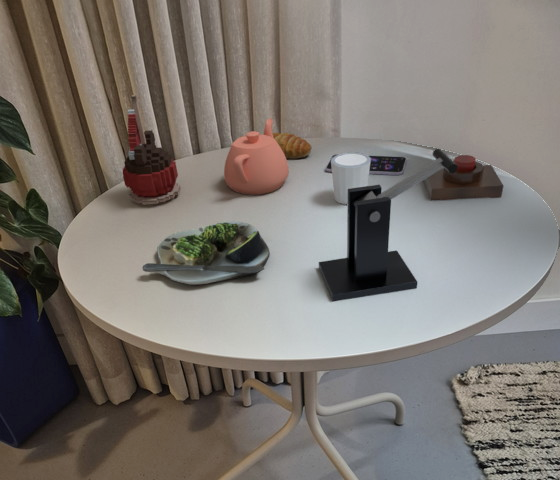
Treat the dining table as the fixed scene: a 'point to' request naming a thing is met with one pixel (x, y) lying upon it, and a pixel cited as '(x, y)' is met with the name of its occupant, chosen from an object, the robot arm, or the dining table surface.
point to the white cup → (349, 173)
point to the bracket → (367, 252)
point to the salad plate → (211, 253)
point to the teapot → (256, 163)
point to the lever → (416, 176)
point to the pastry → (292, 145)
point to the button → (465, 162)
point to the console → (464, 184)
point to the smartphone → (382, 165)
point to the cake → (147, 164)
